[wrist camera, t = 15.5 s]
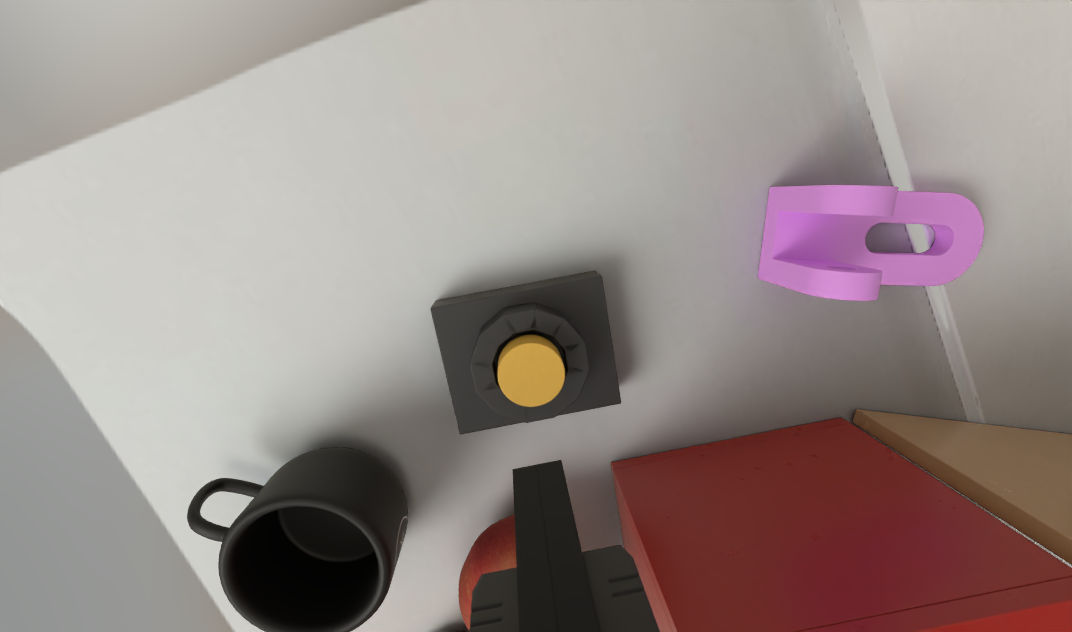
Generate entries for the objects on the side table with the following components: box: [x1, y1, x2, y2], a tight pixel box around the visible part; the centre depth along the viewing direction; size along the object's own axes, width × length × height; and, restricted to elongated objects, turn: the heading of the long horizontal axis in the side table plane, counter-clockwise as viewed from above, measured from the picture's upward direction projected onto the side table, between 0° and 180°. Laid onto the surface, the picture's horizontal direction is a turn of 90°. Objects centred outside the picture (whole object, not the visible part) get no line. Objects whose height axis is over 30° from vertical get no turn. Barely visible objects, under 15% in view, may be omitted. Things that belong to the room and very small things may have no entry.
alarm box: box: [431, 271, 621, 434], centre depth 31 cm, size 10×8×4 cm
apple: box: [459, 515, 517, 630], centre depth 32 cm, size 8×8×8 cm
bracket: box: [758, 185, 984, 301], centre depth 29 cm, size 13×6×7 cm, turn 88°
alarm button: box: [498, 335, 565, 407], centre depth 28 cm, size 4×4×2 cm
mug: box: [187, 447, 408, 632], centre depth 31 cm, size 12×9×7 cm
